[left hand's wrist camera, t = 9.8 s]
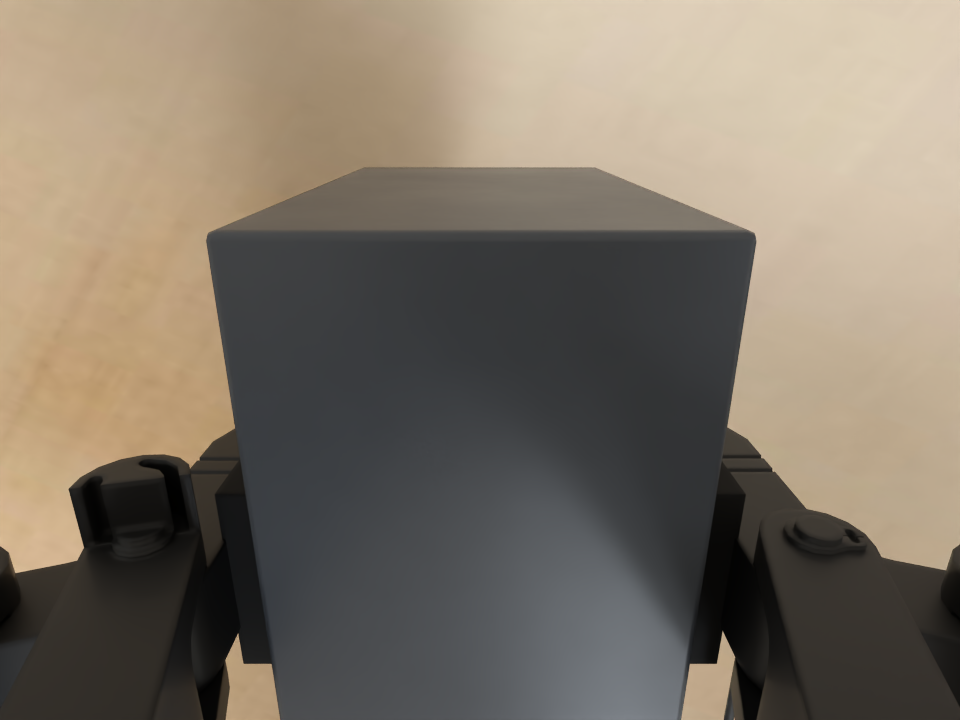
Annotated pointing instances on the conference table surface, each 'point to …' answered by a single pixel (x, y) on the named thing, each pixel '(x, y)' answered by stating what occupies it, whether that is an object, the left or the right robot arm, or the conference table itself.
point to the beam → (480, 438)
